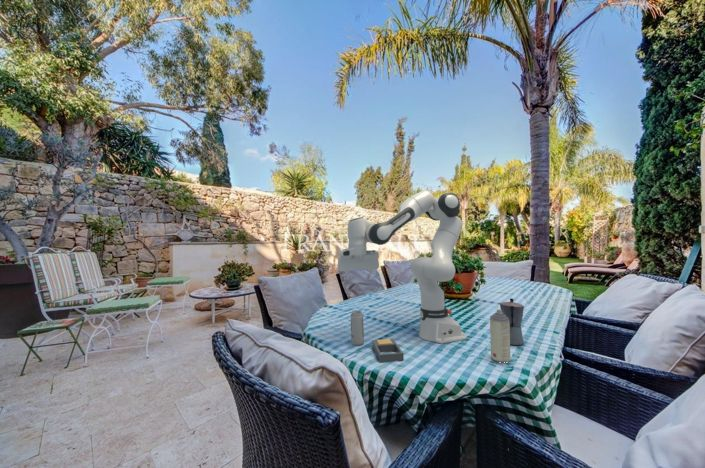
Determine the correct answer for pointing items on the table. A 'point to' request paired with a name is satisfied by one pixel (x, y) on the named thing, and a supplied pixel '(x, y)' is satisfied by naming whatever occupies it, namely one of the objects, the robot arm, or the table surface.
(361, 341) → the energy drink can
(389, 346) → the socket block
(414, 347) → the table surface
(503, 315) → the aerosol can
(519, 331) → the moka pot
